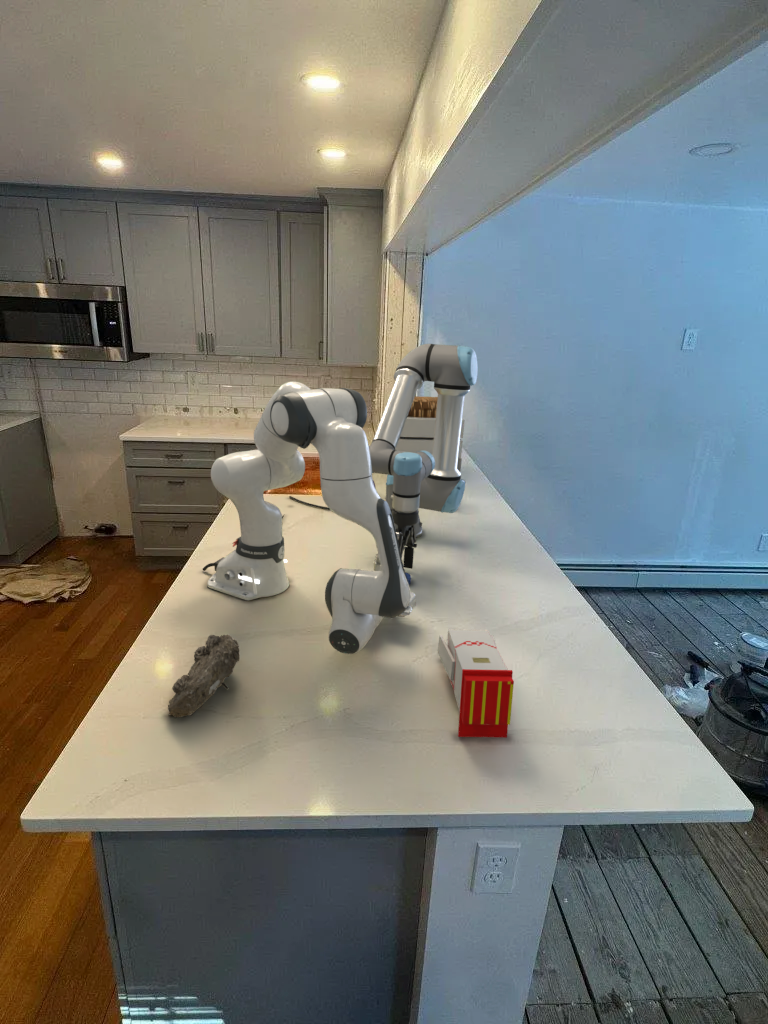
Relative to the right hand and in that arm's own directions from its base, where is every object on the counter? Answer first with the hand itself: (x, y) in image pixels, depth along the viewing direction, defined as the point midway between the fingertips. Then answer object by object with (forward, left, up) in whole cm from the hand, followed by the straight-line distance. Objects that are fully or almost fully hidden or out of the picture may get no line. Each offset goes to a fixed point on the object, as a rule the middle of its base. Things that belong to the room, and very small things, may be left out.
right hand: (401, 577), depth 165 cm
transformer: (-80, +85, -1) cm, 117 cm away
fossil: (+13, -65, -1) cm, 66 cm away
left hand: (+8, -14, +5) cm, 17 cm away
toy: (+46, -23, -1) cm, 52 cm away
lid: (0, -1, 0) cm, 1 cm away
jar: (+9, -15, -1) cm, 17 cm away
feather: (-63, -2, -1) cm, 63 cm away
